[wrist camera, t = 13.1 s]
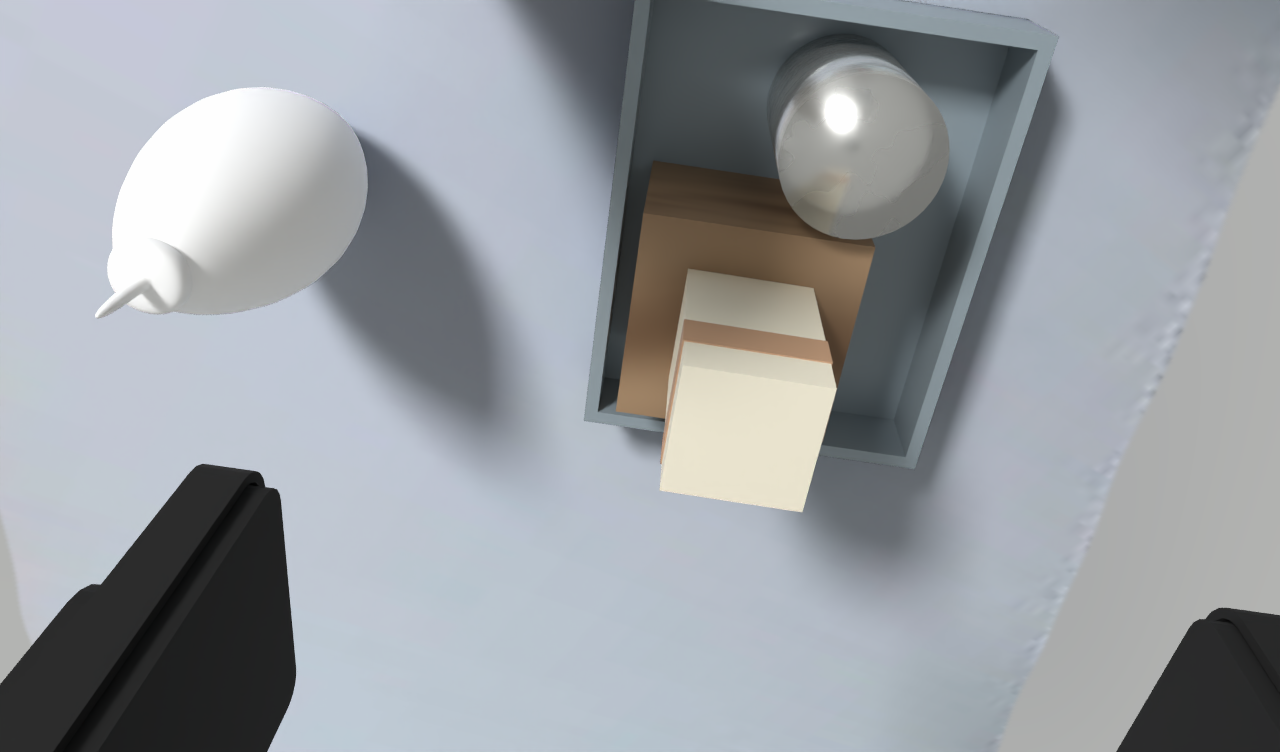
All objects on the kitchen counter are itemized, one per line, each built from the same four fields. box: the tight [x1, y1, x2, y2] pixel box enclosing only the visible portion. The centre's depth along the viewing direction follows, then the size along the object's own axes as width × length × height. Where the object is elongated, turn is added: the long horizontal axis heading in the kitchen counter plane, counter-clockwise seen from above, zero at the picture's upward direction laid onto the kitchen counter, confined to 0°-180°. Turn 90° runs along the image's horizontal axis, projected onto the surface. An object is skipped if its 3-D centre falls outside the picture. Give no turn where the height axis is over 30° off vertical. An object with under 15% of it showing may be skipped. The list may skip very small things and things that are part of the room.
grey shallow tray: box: [584, 0, 1059, 469], centre depth 42 cm, size 20×16×4 cm
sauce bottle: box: [95, 87, 368, 318], centre depth 36 cm, size 8×8×18 cm
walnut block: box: [616, 161, 875, 442], centre depth 42 cm, size 9×9×7 cm
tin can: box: [767, 34, 950, 240], centre depth 37 cm, size 6×6×8 cm
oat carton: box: [660, 269, 837, 512], centre depth 35 cm, size 5×5×8 cm
